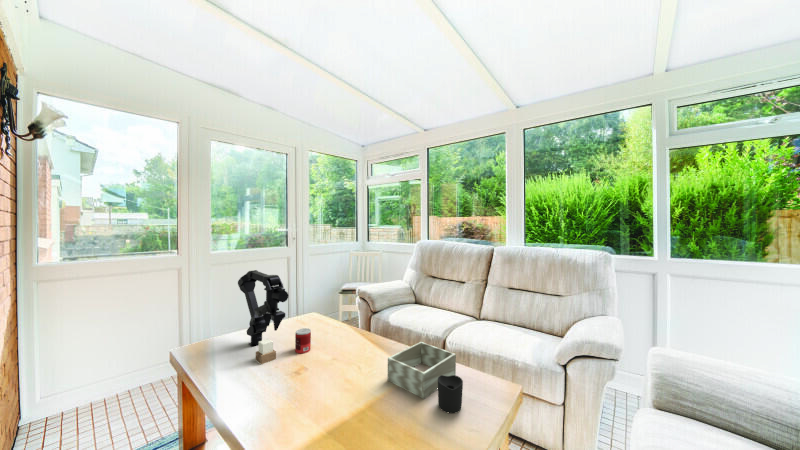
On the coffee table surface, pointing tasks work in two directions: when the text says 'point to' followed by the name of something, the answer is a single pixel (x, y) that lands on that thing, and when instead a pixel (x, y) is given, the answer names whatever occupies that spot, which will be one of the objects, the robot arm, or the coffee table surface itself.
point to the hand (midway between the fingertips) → (271, 328)
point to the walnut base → (265, 357)
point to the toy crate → (414, 378)
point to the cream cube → (265, 346)
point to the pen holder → (450, 393)
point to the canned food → (302, 341)
